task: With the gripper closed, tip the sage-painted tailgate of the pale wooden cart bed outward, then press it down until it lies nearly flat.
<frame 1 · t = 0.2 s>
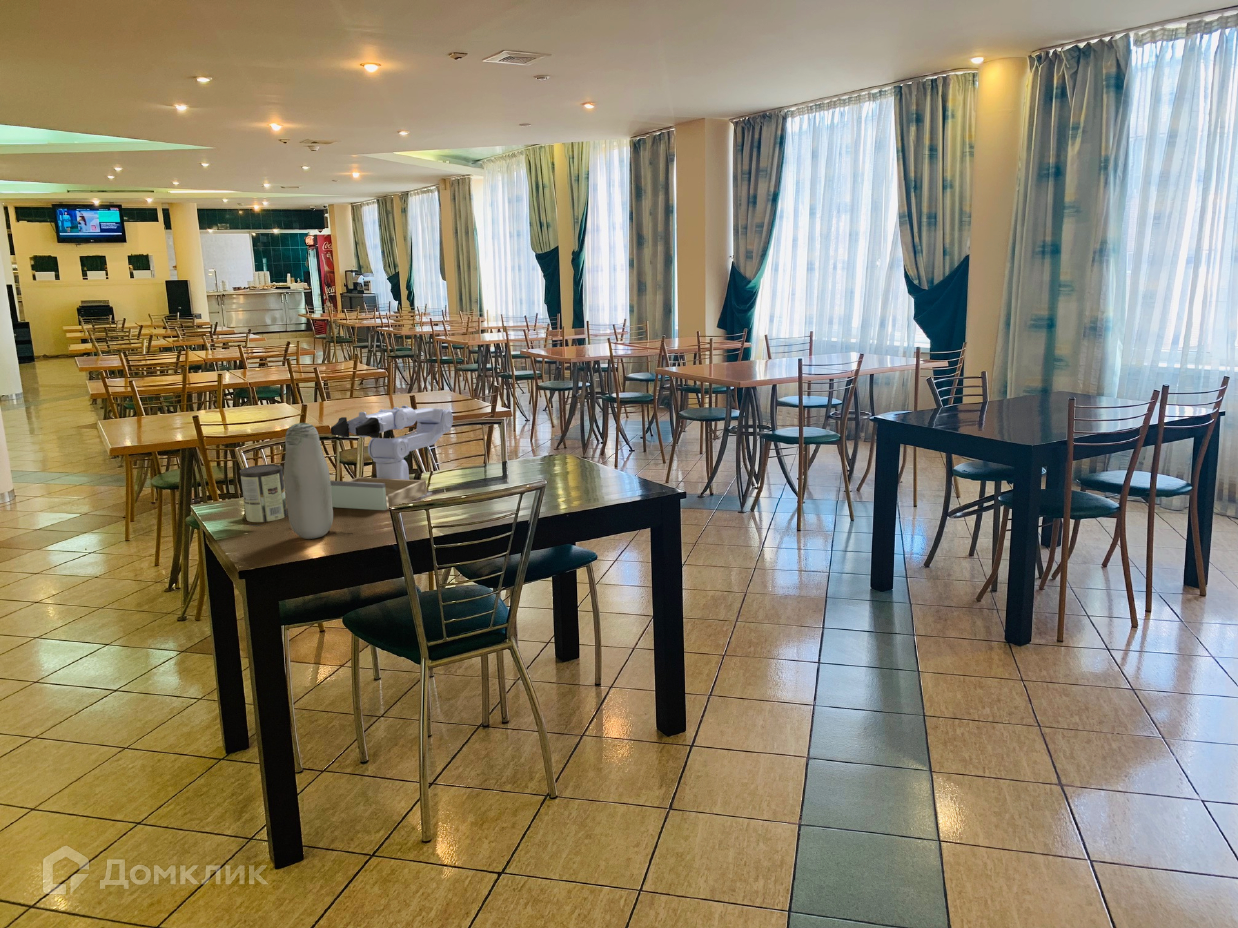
hand: (344, 431, 238), 21 cm above the table, tool horizontal, fingers open, 7 cm apart
white bottle: (313, 538, 215), on the table
cart bed: (374, 503, 246), on the table
tailgate: (353, 495, 236), point 5 cm above the table, hinge at 0.0°
coffee can: (267, 521, 232), on the table
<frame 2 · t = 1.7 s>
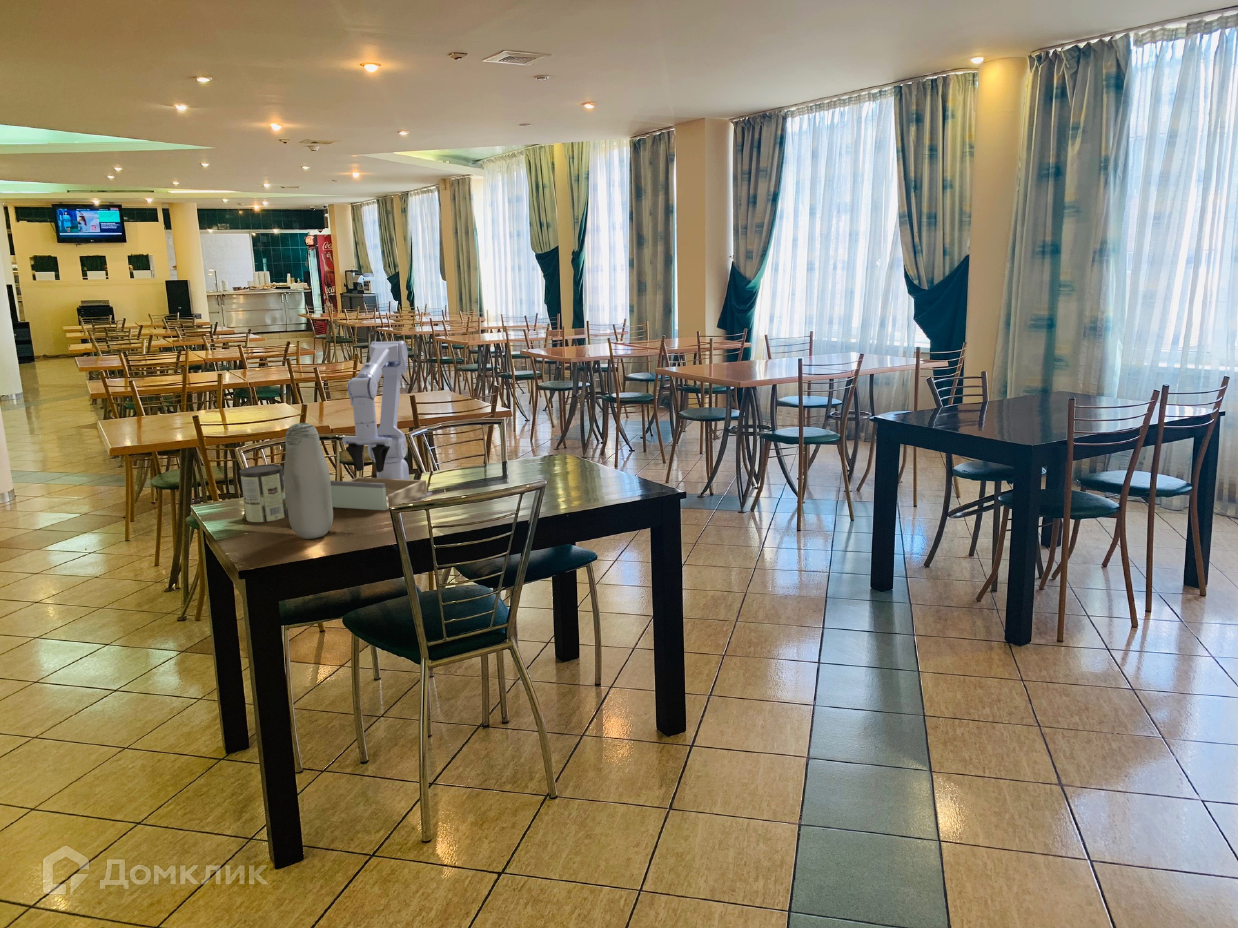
hand: (370, 471, 243), 9 cm above the table, tool pointing down, fingers open, 6 cm apart
nothing on the table moved.
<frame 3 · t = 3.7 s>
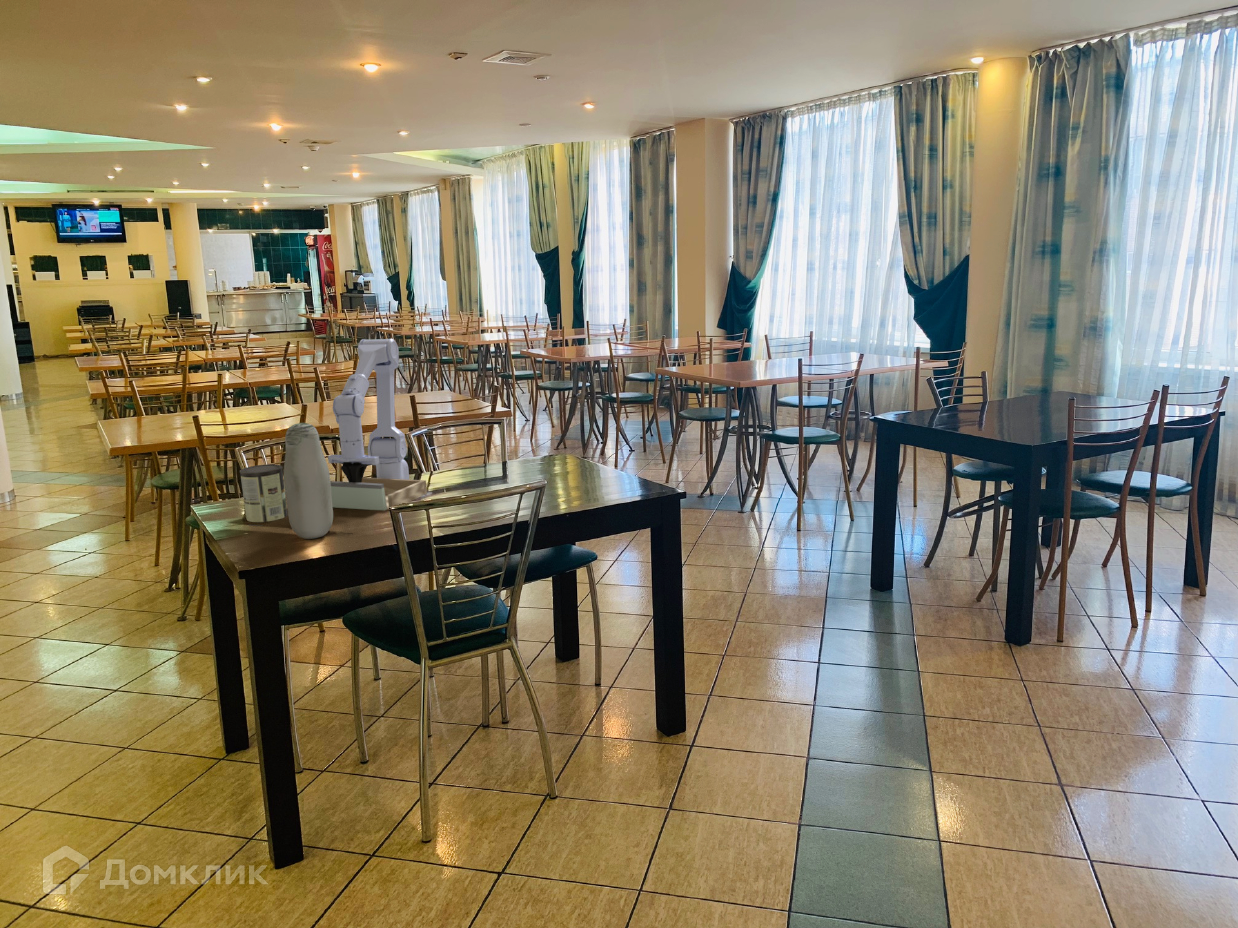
hand: (356, 490, 238), 6 cm above the table, tool pointing down, fingers closed, pressing on tailgate
tailgate: (352, 495, 236), point 5 cm above the table, hinge at 5.3°, touching gripper
everything else where it was.
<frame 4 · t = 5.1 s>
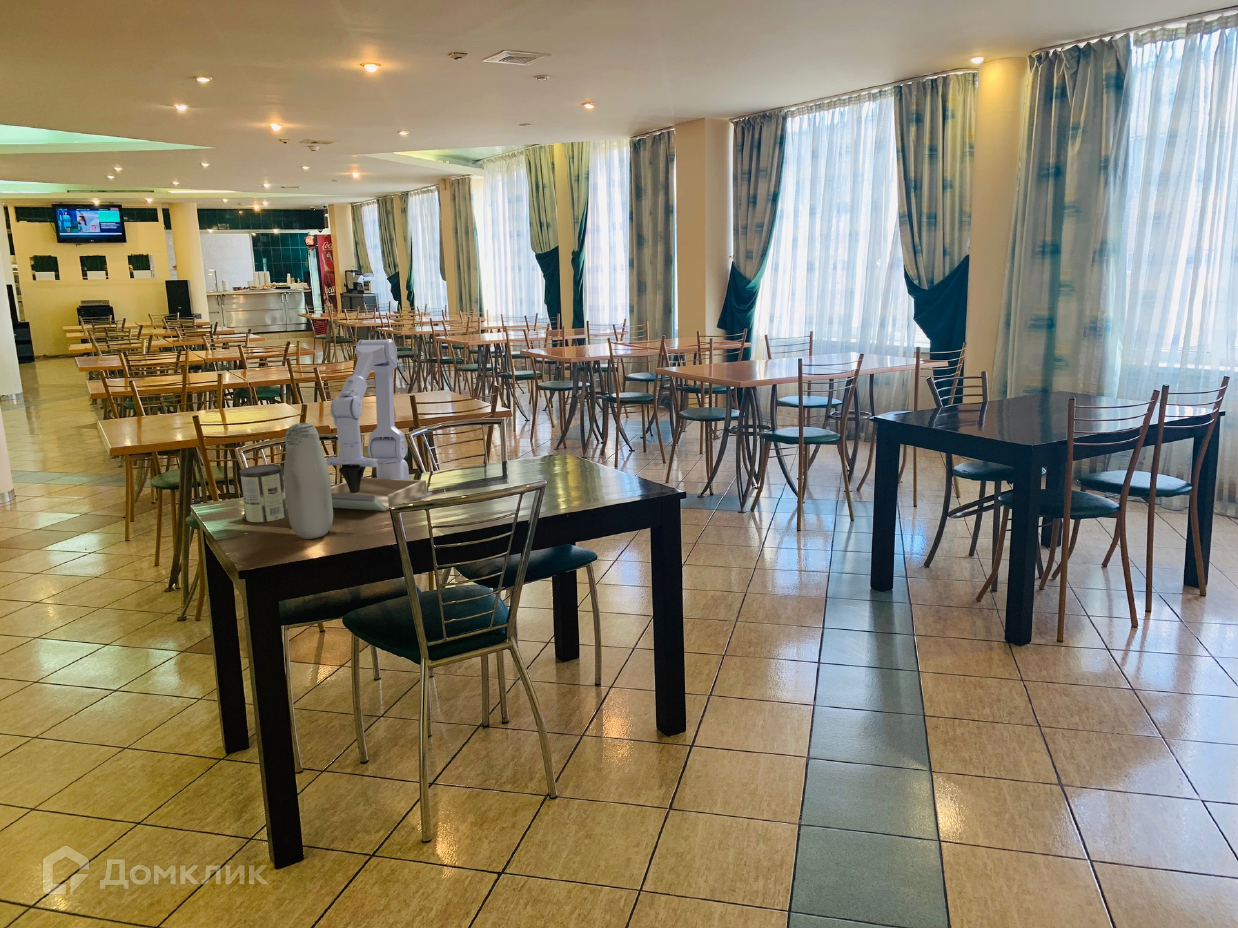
hand: (354, 492, 237), 5 cm above the table, tool pointing down, fingers closed
tailgate: (348, 501, 234), point 4 cm above the table, hinge at 48.9°
everything else where it was.
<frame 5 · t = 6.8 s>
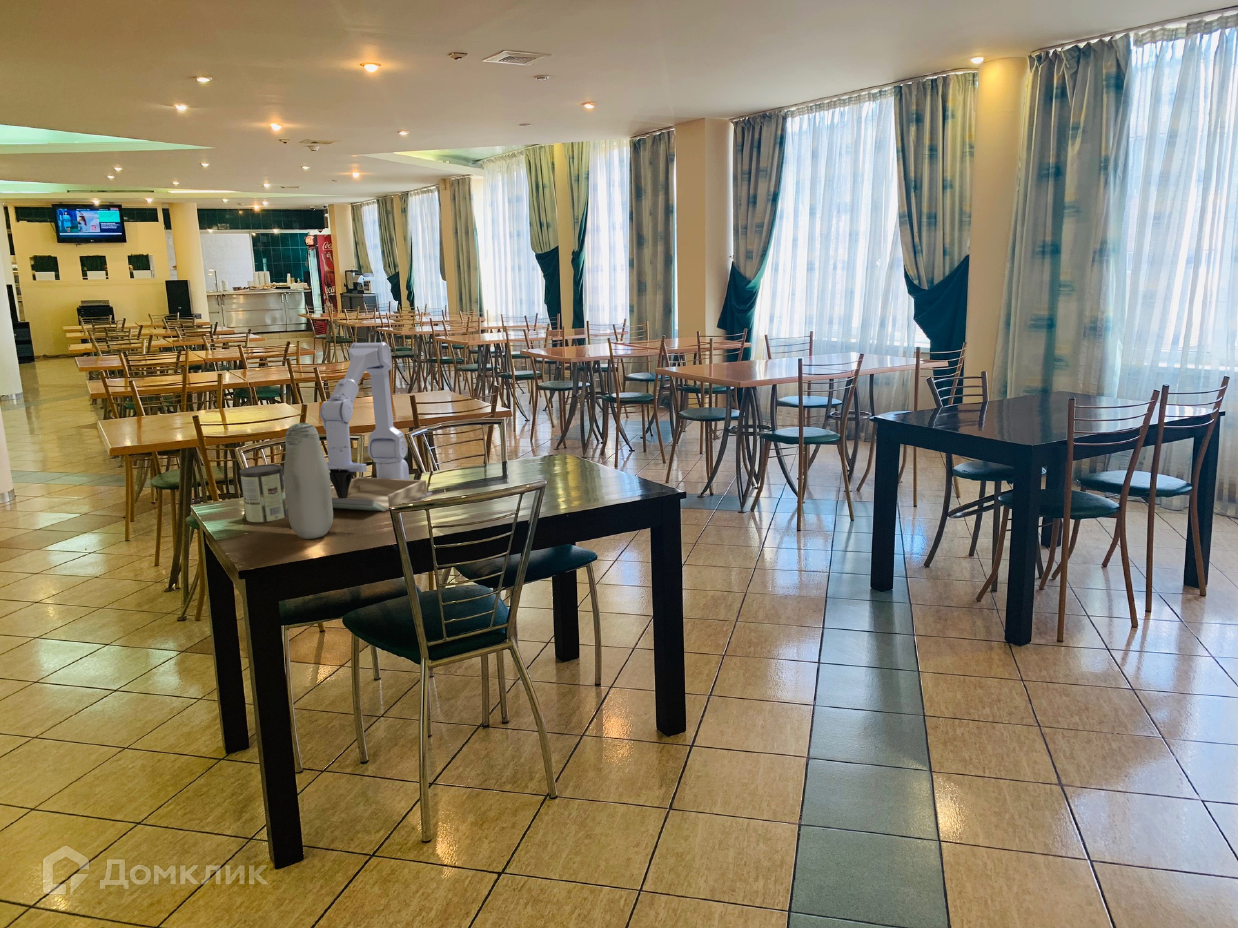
hand: (342, 498, 232), 5 cm above the table, tool pointing down, fingers closed, pressing on tailgate
tailgate: (347, 504, 234), point 3 cm above the table, hinge at 59.5°, touching gripper
everything else where it was.
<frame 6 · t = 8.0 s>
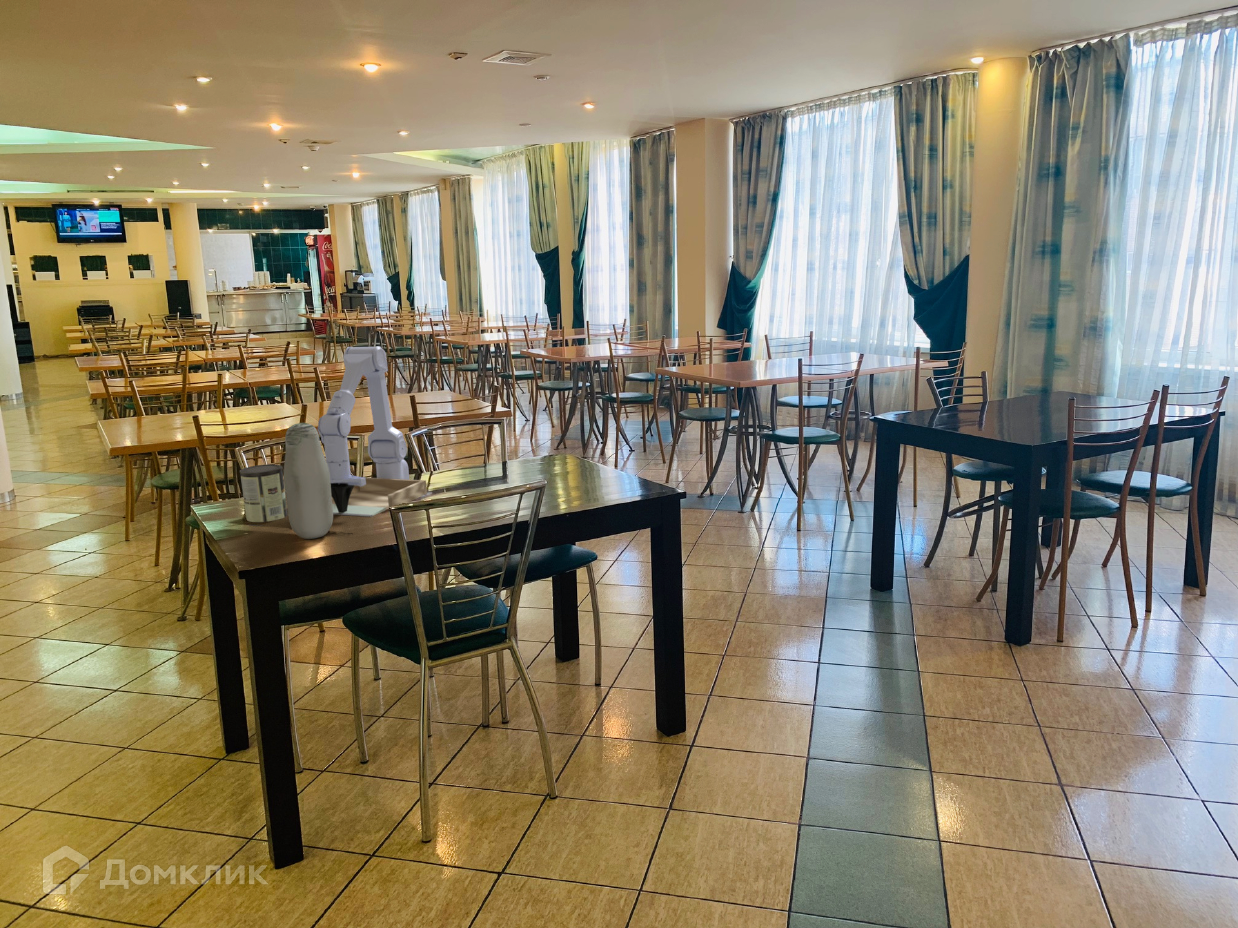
hand: (342, 511, 232), 2 cm above the table, tool pointing down, fingers closed
tailgate: (347, 512, 234), point 1 cm above the table, hinge at 93.9°
everything else where it was.
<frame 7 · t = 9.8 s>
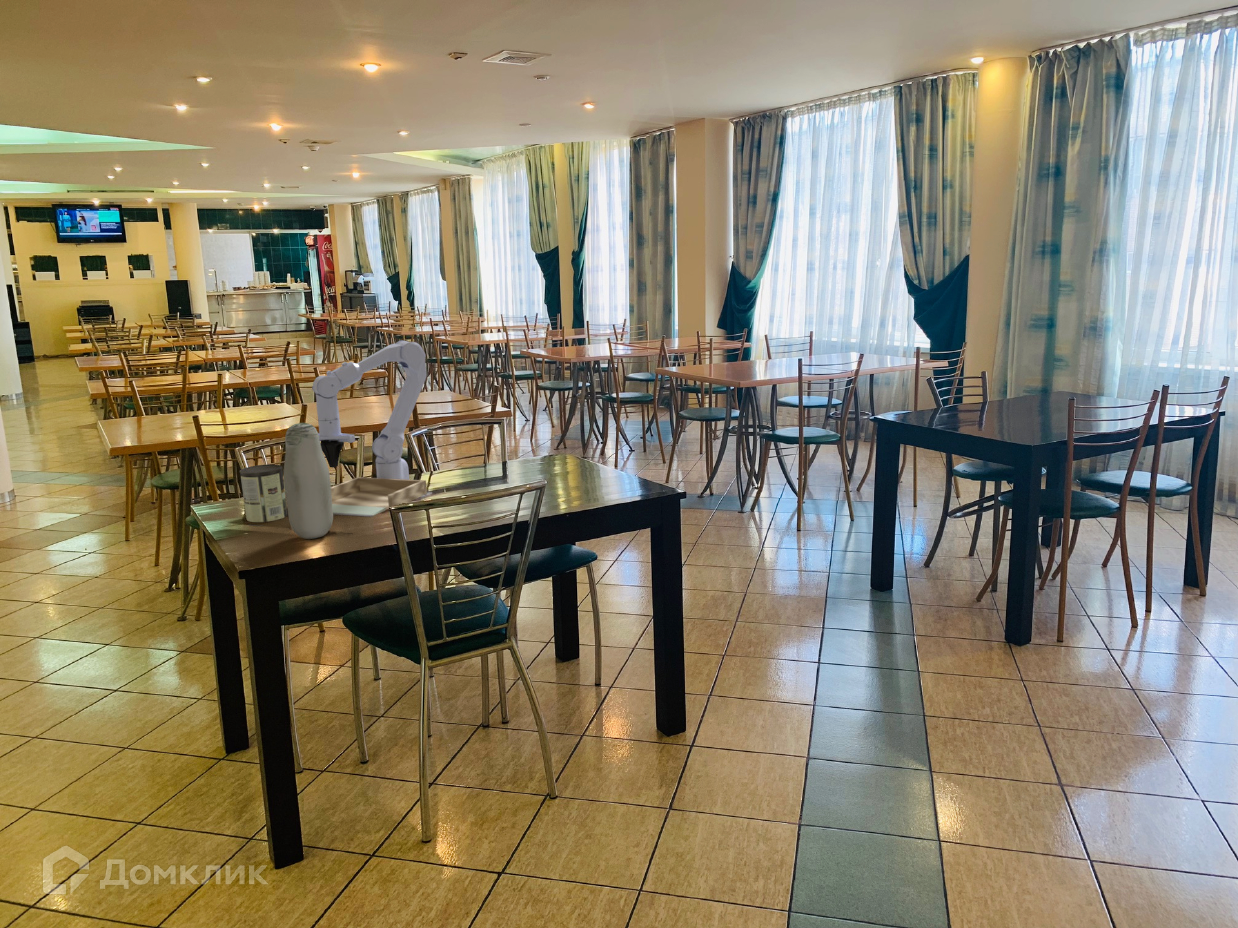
hand: (333, 466, 250), 9 cm above the table, tool pointing down, fingers closed
tailgate: (347, 512, 234), point 1 cm above the table, hinge at 94.3°
everything else where it was.
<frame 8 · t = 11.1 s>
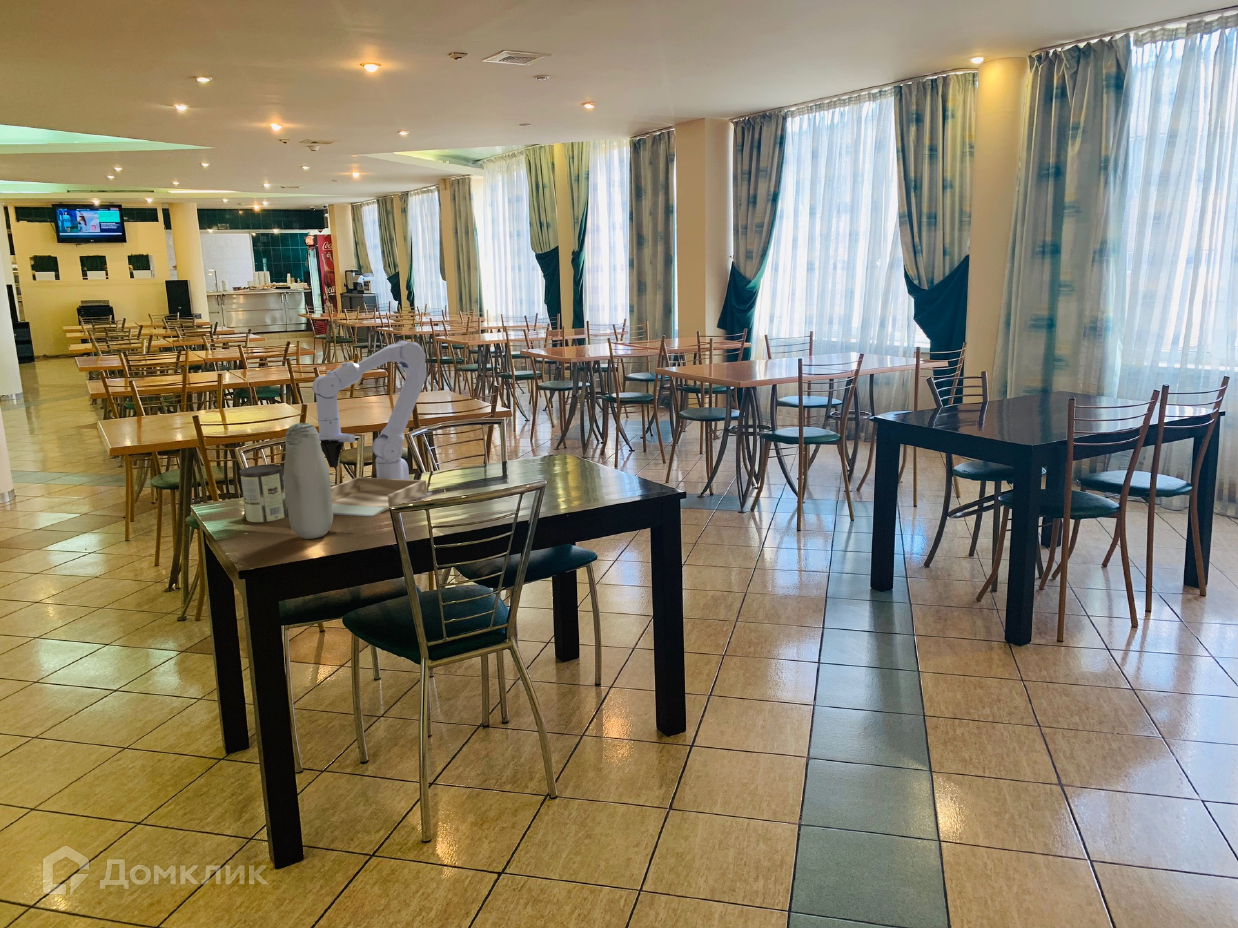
hand: (333, 466, 250), 9 cm above the table, tool pointing down, fingers closed
nothing on the table moved.
at the end: tailgate at +94° (first picture: +0°); white bottle tilted 0° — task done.
